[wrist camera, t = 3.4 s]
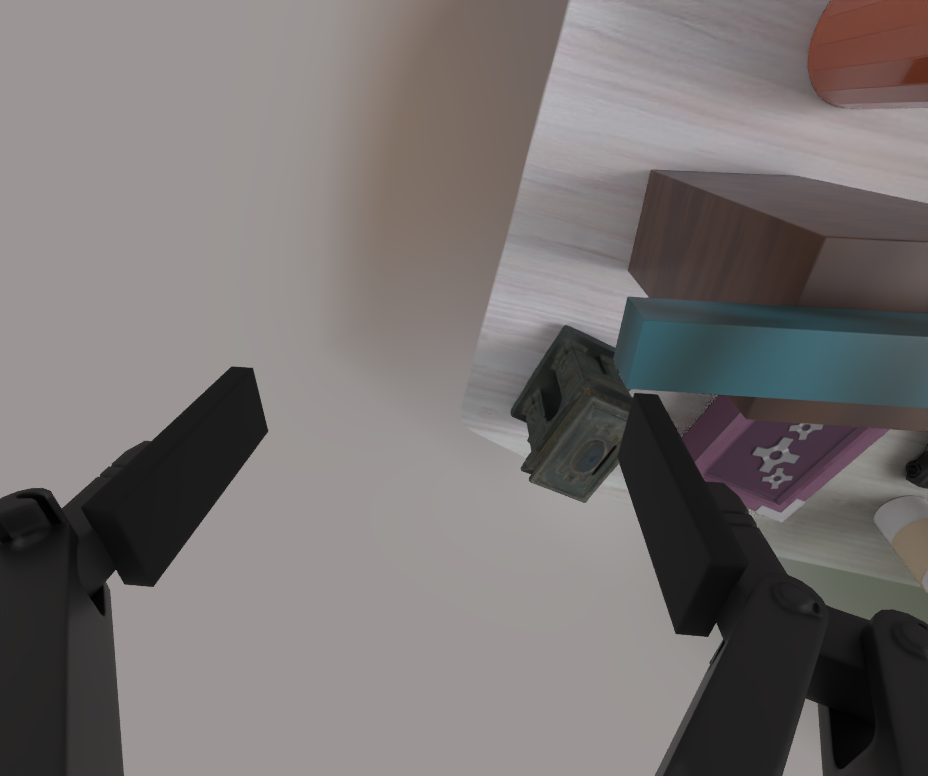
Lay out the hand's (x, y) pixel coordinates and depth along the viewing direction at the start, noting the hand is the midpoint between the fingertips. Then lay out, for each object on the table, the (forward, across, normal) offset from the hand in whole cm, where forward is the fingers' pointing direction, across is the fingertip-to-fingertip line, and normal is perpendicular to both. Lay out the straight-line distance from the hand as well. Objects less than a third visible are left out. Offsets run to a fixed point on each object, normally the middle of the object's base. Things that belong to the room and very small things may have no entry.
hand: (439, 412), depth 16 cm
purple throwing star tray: (+37, +39, -21) cm, 58 cm away
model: (+37, +12, -20) cm, 43 cm away
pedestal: (+37, +23, 0) cm, 43 cm away
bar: (+9, +19, 0) cm, 21 cm away
